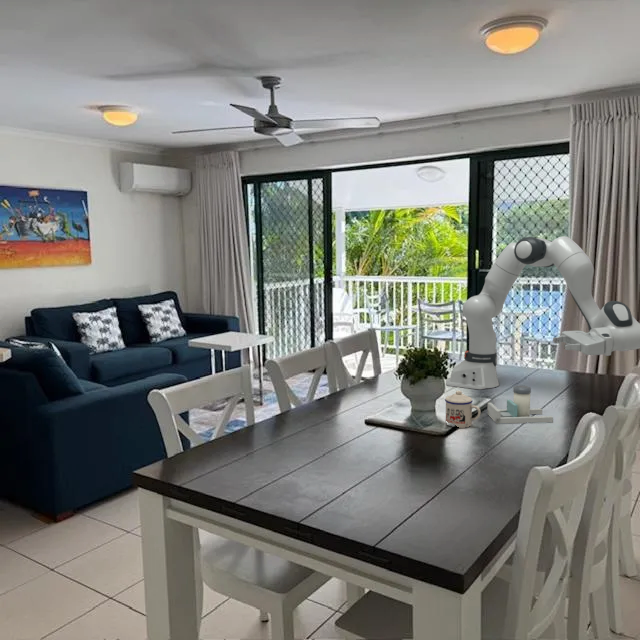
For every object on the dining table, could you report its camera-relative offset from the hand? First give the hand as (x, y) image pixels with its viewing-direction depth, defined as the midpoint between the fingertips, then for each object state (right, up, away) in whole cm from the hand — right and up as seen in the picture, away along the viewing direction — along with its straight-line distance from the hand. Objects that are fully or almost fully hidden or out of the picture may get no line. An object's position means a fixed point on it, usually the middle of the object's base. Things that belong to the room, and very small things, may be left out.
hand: (559, 343), depth 210 cm
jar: (-12, -26, +2) cm, 29 cm away
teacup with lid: (-34, -28, -4) cm, 44 cm away
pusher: (-17, -26, +2) cm, 31 cm away
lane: (-13, -26, +2) cm, 29 cm away
